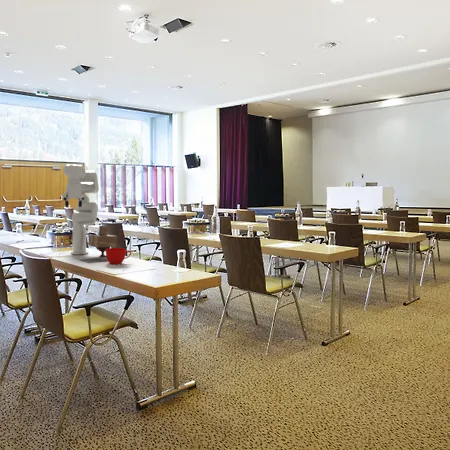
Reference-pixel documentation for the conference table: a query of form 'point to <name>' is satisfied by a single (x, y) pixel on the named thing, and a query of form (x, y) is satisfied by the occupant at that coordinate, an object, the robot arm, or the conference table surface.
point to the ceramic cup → (116, 255)
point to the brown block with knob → (103, 239)
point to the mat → (94, 260)
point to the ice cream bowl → (102, 250)
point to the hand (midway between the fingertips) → (73, 206)
